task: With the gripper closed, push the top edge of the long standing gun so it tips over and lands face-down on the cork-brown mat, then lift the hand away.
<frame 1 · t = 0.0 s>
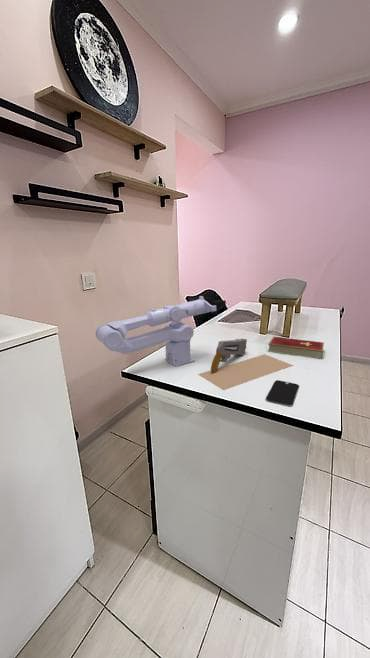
hand: (219, 301, 115), 22 cm above the table, tool horizontal, fingers open, 7 cm apart
smartphone: (282, 394, 85), on the table
hardcover book: (295, 352, 120), on the table
gun: (229, 361, 109), on the table, touching mat
mat: (246, 370, 102), on the table
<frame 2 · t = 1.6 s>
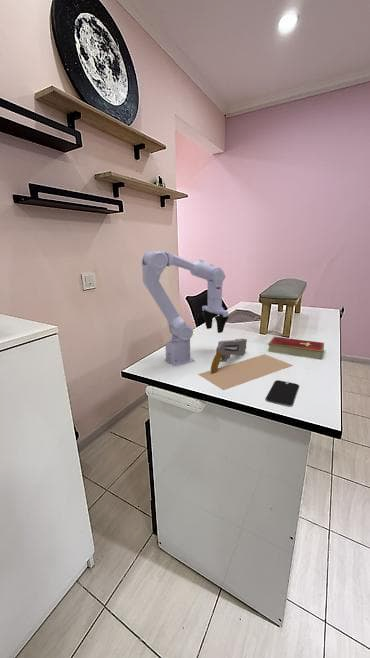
hand: (214, 330, 115), 10 cm above the table, tool pointing down, fingers open, 7 cm apart
nothing on the table moved.
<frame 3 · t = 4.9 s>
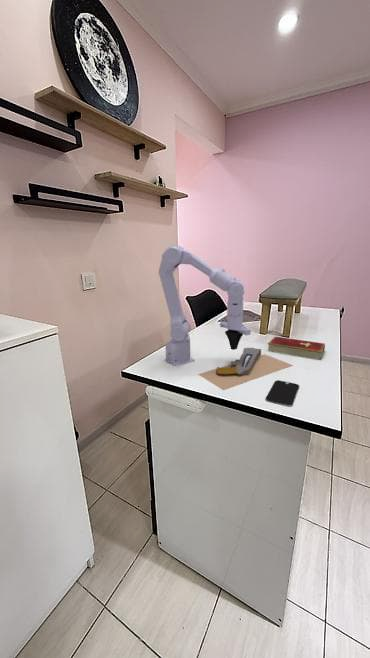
hand: (233, 348, 106), 6 cm above the table, tool pointing down, fingers closed
gun: (232, 358, 108), point 1 cm above the table, touching mat
everything else where it was.
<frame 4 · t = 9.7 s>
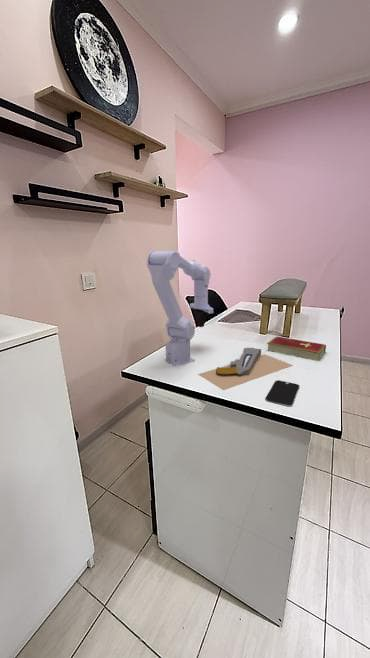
hand: (201, 326, 121), 10 cm above the table, tool pointing down, fingers closed
at the end: gun tilted 91°; gun touching mat; gun inside the target area (1.4 cm from its centre), point 1.4 cm above the table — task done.
